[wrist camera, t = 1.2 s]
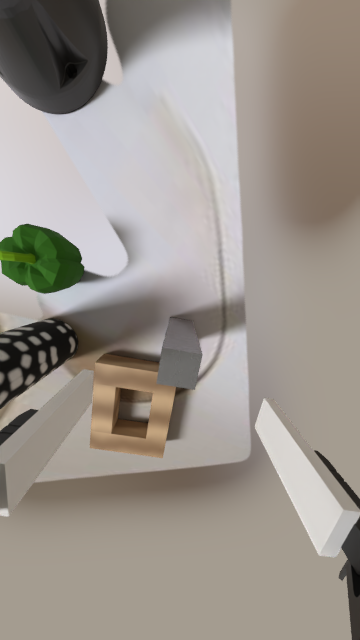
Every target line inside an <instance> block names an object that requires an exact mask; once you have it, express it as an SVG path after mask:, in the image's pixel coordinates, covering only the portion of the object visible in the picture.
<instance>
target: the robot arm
mask: <svg viewBox="0 0 360 640" xmlns="http://www.w3.org/2000/svg"><path fill="white" fill-rule="evenodd" d="M106 61H107V32H106V26H105V21H104V17H103V14H102V10H101V7H100V4H99V0H0V77H1V78H2V79H3V80H4V81H5V82H6V83H7V84H8V86H9V87H10V88H11V89H12V90H13V91H14V92H15V93H16V94H17V95H18V96H19V97H20V98H21V99H22V100H23V101H25V102H26V103H27V104H29V105H30V106H32V107H34V108H36V109H38V110H41V111H44V112H47V113H54V114H61V113H67V112H71V111H73V110H76V109H78V108H79V107H81V106H82V105H84V104H85V103H86V102H87V101H88V100H89V99H90V98H91V97H92V96H93V94H94V93H95V92H96V90H97V88H98V86H99V84H100V82H101V80H102V77H103V74H104V71H105V66H106ZM93 373H94V371H91V370H84V369H83V370H82V371H81V372H80V373H79V374H78V375H77V376H76V377H74V378H73V379H72V380H71V381H70V382H69V383H68V384H67V385H66V386H65V387H64V388H62V389H61V390H60V391H59V392H58V393H57V394H56V395H55V396H54V397H53V398H52V399H51V400H49V401H48V402H47V403H46V404H45V405H44V406H43V407H42V408H41V409H40V410H34V409H30V410H28V411H26V412H24V413H23V414H21V415H19V416H18V417H16V418H15V419H14V420H13V421H12V422H10V423H9V424H8V426H6V427H4V428H3V429H2V430H1V431H0V515H1V516H9V515H10V514H11V513H12V511H13V510H14V509H15V507H16V506H17V504H18V503H19V502H20V500H21V499H22V498H23V496H24V495H25V493H26V492H27V491H28V489H29V488H30V487H31V485H32V484H33V482H34V481H35V480H36V478H37V477H38V476H39V474H40V473H41V471H42V470H43V469H44V467H45V466H46V465H47V463H48V462H49V460H50V459H51V458H52V456H53V455H54V454H55V452H56V451H57V449H58V448H59V447H60V445H61V444H62V442H63V441H64V440H65V438H66V437H67V436H68V434H69V433H70V431H71V430H72V429H73V427H74V426H75V425H76V423H77V422H78V420H79V419H80V418H81V416H82V415H83V414H84V412H85V411H86V409H87V408H88V407H89V405H90V404H91V403H92V388H93ZM255 429H256V431H257V433H258V435H259V436H260V439H261V441H262V443H263V445H264V447H265V449H266V451H267V453H268V455H269V457H270V459H271V461H272V463H273V465H274V467H275V469H276V471H277V473H278V475H279V477H280V479H281V481H282V483H283V485H284V487H285V489H286V491H287V492H288V495H289V497H290V499H291V501H292V503H293V505H294V507H295V508H296V510H297V513H298V514H299V517H300V519H301V521H302V523H303V524H304V526H305V529H306V531H307V533H308V535H309V537H310V538H311V541H312V542H313V544H314V546H315V548H316V550H317V552H318V555H320V556H328V557H336V556H337V554H338V553H339V551H340V549H341V548H342V550H343V551H344V553H345V554H346V556H347V558H348V560H347V561H346V563H345V565H344V567H343V568H342V570H341V571H340V574H339V578H340V579H341V580H343V579H344V577H345V576H346V575H347V587H348V598H349V610H350V622H351V633H352V640H360V499H359V498H358V496H357V495H356V494H355V493H354V491H353V490H352V489H351V488H350V487H349V485H348V484H347V483H346V482H344V479H343V478H342V477H341V475H340V474H339V473H337V471H336V469H335V468H334V467H333V466H332V465H331V463H330V462H329V461H328V460H327V459H326V458H325V457H324V456H323V455H322V454H320V453H319V452H318V451H314V450H313V449H312V448H311V446H310V445H309V444H308V443H307V441H306V440H305V439H304V438H303V436H302V435H301V434H300V432H299V431H298V430H297V428H296V427H295V426H294V425H293V424H292V422H291V421H290V420H289V418H288V417H287V416H286V415H285V413H284V412H283V411H282V409H281V408H280V407H279V406H278V404H277V403H276V402H275V400H274V399H269V398H264V400H263V403H262V406H261V409H260V412H259V415H258V418H257V421H256V424H255Z"/></svg>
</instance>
